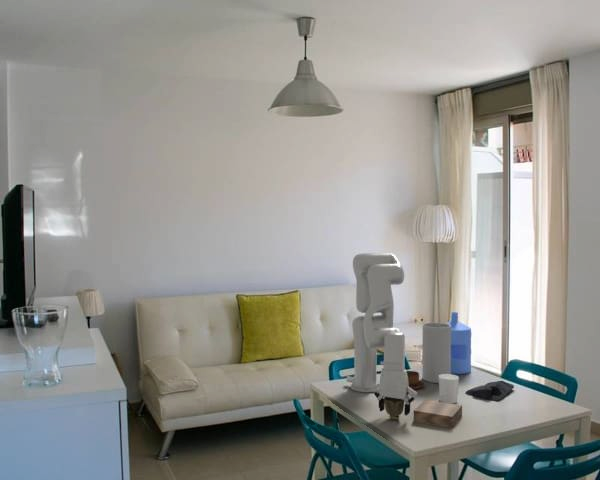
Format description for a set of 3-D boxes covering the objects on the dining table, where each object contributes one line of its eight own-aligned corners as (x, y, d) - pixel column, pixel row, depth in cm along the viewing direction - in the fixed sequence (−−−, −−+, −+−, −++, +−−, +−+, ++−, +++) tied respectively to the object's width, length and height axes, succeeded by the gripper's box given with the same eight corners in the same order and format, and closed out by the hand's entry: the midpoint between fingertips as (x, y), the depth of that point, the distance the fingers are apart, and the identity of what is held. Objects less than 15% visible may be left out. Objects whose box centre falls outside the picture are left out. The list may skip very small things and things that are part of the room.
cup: (383, 421, 208) (383, 400, 208) (384, 415, 216) (384, 393, 215) (404, 423, 207) (404, 401, 207) (404, 416, 214) (404, 394, 214)
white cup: (459, 404, 227) (459, 379, 227) (438, 403, 229) (438, 378, 228) (458, 398, 235) (458, 374, 234) (438, 397, 236) (438, 373, 236)
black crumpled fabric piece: (520, 391, 246) (520, 380, 245) (497, 403, 230) (497, 391, 230) (486, 384, 256) (486, 373, 256) (462, 395, 241) (462, 384, 240)
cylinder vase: (430, 384, 255) (430, 328, 254) (417, 377, 267) (417, 323, 266) (455, 382, 258) (456, 327, 257) (442, 375, 270) (442, 322, 269)
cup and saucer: (391, 387, 251) (391, 373, 251) (405, 381, 260) (405, 368, 260) (415, 392, 243) (415, 378, 243) (429, 386, 252) (429, 372, 252)
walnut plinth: (413, 421, 209) (413, 410, 209) (425, 410, 221) (425, 399, 221) (452, 428, 202) (452, 416, 202) (462, 416, 214) (462, 405, 214)
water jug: (446, 364, 289) (446, 309, 288) (476, 369, 279) (476, 312, 278) (431, 371, 277) (432, 313, 276) (463, 376, 267) (463, 316, 266)
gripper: (368, 365, 212) (368, 411, 212) (414, 371, 203) (413, 419, 204) (375, 360, 218) (376, 405, 219) (420, 366, 210) (420, 413, 210)
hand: (394, 412), depth 211 cm, fingers open, 9 cm apart
